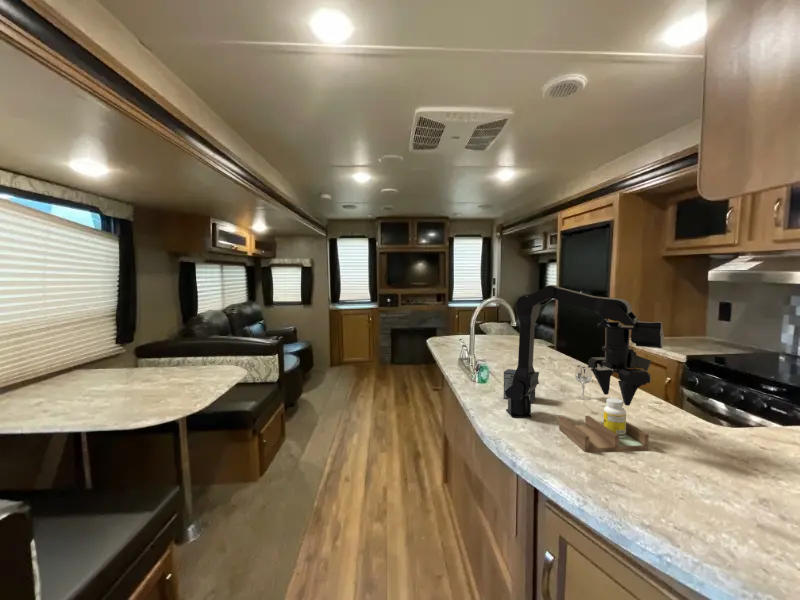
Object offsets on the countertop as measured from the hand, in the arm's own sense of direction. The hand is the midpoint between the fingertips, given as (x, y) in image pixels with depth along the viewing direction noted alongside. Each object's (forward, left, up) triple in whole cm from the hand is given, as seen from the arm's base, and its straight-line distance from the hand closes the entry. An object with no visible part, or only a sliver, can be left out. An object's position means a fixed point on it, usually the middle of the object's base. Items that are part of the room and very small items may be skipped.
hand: (616, 399), depth 100 cm
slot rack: (-4, 0, -11) cm, 12 cm away
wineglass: (+10, +34, -11) cm, 37 cm away
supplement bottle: (0, 0, -10) cm, 10 cm away
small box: (-14, +35, -12) cm, 40 cm away
